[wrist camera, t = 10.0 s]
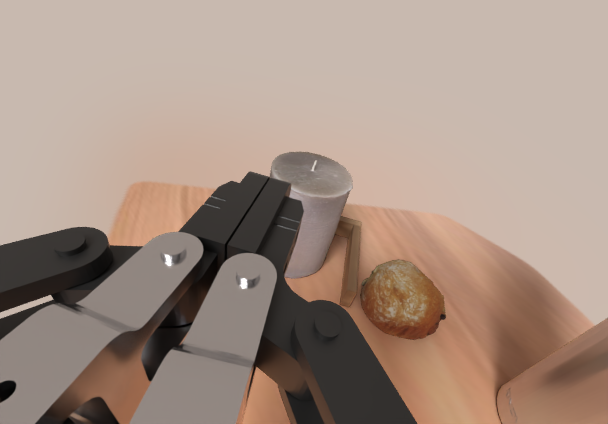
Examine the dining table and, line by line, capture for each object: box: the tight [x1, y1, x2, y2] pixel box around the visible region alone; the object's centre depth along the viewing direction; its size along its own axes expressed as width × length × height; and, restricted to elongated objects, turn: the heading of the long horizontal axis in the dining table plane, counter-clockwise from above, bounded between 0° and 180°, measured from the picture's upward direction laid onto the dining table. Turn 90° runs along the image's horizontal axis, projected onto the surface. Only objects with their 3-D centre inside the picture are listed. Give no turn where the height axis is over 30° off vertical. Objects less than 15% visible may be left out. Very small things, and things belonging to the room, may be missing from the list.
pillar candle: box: [270, 152, 353, 278], centre depth 36 cm, size 10×10×15 cm
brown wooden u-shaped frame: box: [335, 216, 361, 307], centre depth 40 cm, size 18×14×3 cm
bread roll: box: [361, 260, 446, 340], centre depth 35 cm, size 10×10×8 cm
